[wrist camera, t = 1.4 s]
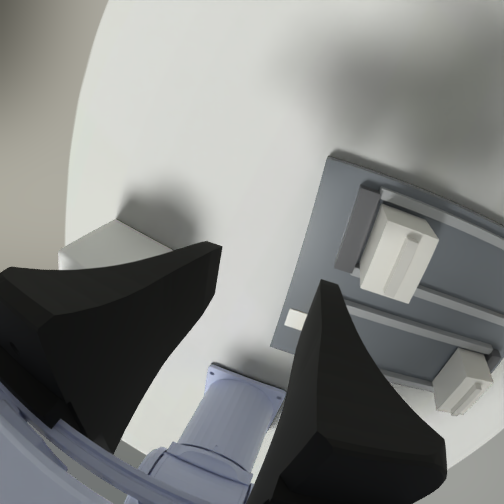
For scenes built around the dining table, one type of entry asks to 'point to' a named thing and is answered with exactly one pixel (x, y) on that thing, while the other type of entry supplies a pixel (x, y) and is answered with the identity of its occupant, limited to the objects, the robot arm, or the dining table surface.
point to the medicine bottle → (109, 248)
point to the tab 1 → (396, 254)
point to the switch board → (428, 290)
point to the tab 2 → (461, 382)
